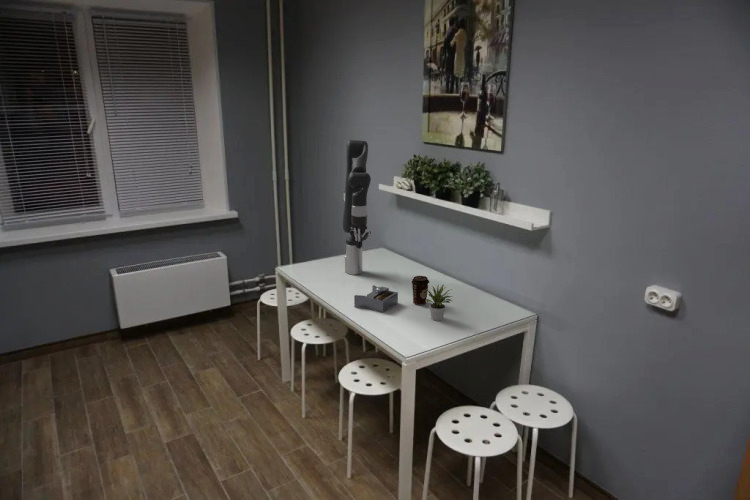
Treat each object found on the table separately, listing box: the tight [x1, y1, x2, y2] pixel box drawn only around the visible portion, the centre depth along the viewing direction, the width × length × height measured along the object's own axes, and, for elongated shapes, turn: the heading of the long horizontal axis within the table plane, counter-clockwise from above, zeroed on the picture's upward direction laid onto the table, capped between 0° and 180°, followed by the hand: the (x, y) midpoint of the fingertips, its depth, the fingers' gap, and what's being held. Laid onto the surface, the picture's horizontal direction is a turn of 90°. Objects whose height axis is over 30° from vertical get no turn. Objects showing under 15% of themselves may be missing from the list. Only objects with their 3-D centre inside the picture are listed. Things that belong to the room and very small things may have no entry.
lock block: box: [376, 294, 389, 300], centre depth 241 cm, size 8×9×4 cm
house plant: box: [423, 283, 453, 322], centre depth 222 cm, size 14×14×16 cm
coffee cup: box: [411, 275, 430, 306], centre depth 241 cm, size 9×8×13 cm
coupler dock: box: [353, 284, 399, 313], centre depth 240 cm, size 16×17×9 cm
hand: (359, 248), depth 245 cm, fingers closed
